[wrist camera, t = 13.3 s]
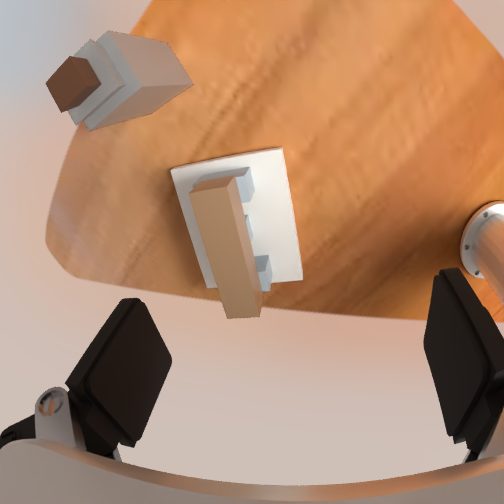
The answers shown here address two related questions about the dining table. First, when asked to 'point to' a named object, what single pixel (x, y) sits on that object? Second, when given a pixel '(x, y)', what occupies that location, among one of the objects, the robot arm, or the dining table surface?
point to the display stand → (250, 211)
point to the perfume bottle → (117, 80)
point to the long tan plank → (228, 245)
